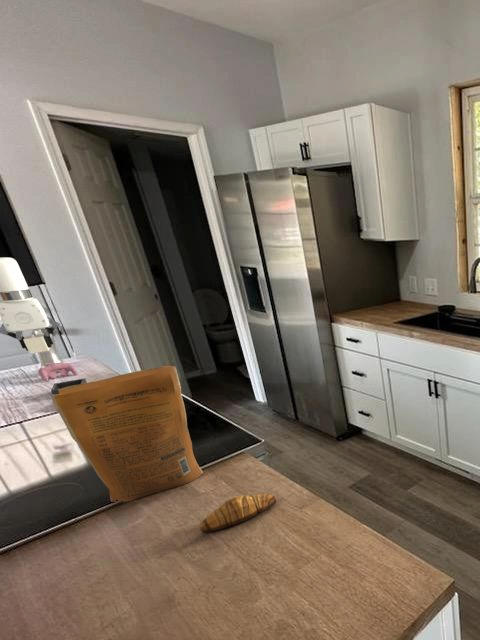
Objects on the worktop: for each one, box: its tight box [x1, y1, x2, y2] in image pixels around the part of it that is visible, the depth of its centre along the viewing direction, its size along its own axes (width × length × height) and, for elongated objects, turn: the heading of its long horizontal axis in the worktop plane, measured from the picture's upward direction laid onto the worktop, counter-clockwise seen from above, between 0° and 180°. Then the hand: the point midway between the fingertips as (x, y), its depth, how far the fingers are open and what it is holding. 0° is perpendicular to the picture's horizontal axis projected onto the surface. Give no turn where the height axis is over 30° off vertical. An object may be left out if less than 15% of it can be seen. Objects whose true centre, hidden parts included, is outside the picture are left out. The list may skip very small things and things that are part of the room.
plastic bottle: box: [29, 329, 64, 374], centre depth 165 cm, size 6×7×20 cm
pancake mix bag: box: [50, 365, 204, 503], centre depth 88 cm, size 7×19×28 cm, turn 131°
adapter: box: [50, 378, 88, 395], centre depth 148 cm, size 8×10×3 cm
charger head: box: [23, 331, 50, 354], centre depth 143 cm, size 4×6×6 cm
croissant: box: [199, 493, 277, 534], centre depth 83 cm, size 14×7×5 cm, turn 135°
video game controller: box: [38, 361, 79, 382], centre depth 162 cm, size 10×5×7 cm, turn 149°
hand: (39, 347), depth 144 cm, fingers closed on charger head, 4 cm apart
